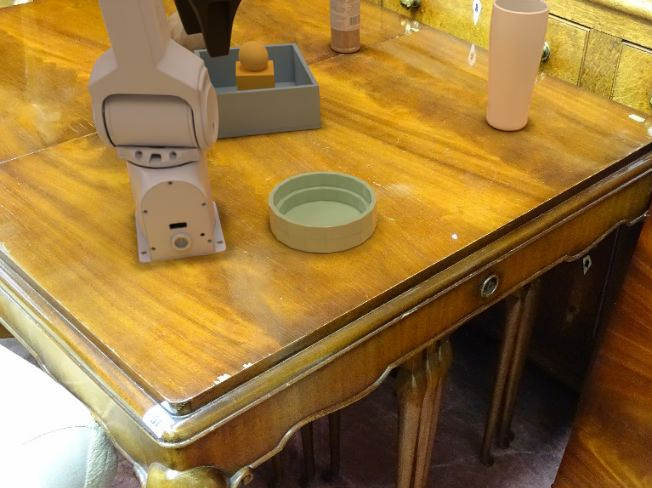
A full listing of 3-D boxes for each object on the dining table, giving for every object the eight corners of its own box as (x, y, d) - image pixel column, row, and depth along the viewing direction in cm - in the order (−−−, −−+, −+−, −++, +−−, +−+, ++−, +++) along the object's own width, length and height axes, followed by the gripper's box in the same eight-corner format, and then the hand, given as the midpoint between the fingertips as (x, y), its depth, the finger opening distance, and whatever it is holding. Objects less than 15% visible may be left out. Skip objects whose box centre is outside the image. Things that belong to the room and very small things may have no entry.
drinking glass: (539, 133, 97) (558, 12, 88) (488, 136, 96) (501, 14, 87) (523, 110, 102) (539, -7, 93) (474, 113, 101) (485, -6, 92)
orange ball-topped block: (275, 97, 101) (270, 34, 95) (277, 113, 97) (272, 48, 92) (239, 98, 100) (232, 35, 95) (239, 114, 96) (232, 49, 91)
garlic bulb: (229, 79, 112) (246, 10, 107) (215, 93, 104) (233, 20, 100) (164, 54, 110) (179, -16, 105) (146, 68, 103) (161, -8, 98)
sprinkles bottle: (350, 41, 119) (348, -53, 110) (366, 50, 116) (366, -45, 107) (324, 46, 117) (321, -49, 108) (340, 56, 114) (338, -41, 105)
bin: (320, 128, 96) (319, 85, 92) (212, 139, 92) (206, 95, 89) (298, 82, 106) (295, 42, 102) (199, 91, 102) (193, 50, 99)
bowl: (389, 248, 76) (389, 218, 74) (281, 264, 73) (278, 233, 71) (361, 194, 84) (361, 166, 82) (262, 207, 81) (259, 177, 79)
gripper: (129, -100, 82) (152, 28, 91) (174, -67, 73) (194, 72, 82) (194, -105, 86) (209, 20, 94) (244, -73, 76) (257, 61, 85)
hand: (206, 43), depth 88 cm, fingers open, 7 cm apart
